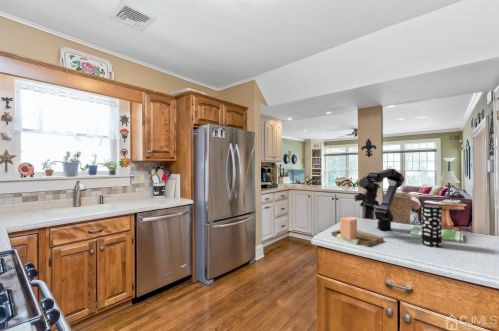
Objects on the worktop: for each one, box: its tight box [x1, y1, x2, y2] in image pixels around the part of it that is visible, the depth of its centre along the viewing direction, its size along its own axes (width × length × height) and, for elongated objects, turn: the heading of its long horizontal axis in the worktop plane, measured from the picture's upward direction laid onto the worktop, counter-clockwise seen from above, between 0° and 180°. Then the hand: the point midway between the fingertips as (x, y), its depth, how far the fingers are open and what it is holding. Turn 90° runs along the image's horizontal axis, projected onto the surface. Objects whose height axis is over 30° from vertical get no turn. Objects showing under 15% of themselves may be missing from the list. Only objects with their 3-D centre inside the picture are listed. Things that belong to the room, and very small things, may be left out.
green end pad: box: [336, 234, 359, 245], centre depth 129 cm, size 3×12×2 cm, turn 32°
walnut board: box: [331, 229, 384, 248], centre depth 133 cm, size 15×22×2 cm
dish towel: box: [409, 225, 465, 243], centre depth 138 cm, size 18×23×3 cm
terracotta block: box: [339, 216, 358, 239], centre depth 129 cm, size 6×6×10 cm
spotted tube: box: [420, 204, 443, 249], centre depth 122 cm, size 8×8×20 cm
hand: (365, 218), depth 138 cm, fingers closed
